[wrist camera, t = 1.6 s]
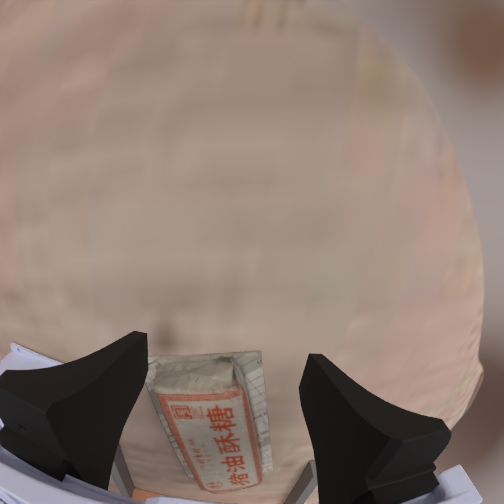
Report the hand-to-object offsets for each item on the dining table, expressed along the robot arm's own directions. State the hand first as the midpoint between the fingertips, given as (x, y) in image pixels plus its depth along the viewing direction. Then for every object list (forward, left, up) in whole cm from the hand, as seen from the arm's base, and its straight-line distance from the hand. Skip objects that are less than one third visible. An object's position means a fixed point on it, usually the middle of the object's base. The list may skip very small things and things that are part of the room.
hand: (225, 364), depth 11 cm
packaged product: (0, -14, -9) cm, 17 cm away
